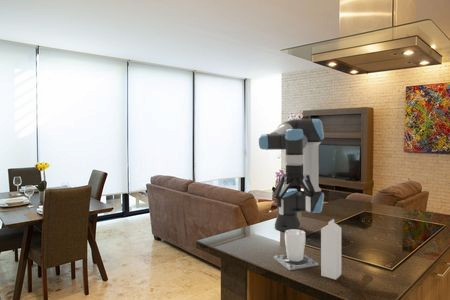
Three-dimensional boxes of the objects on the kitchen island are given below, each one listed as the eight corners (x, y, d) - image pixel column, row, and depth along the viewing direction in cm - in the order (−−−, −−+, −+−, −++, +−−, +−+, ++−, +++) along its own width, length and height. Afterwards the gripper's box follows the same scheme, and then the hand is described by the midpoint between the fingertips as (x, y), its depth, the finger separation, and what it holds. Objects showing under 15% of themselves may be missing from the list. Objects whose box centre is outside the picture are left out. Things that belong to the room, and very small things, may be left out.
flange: (300, 254, 151) (300, 250, 151) (318, 265, 137) (318, 261, 137) (273, 258, 146) (273, 255, 146) (289, 270, 133) (289, 266, 133)
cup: (290, 264, 136) (290, 236, 136) (281, 256, 145) (281, 230, 144) (309, 261, 139) (309, 234, 138) (299, 254, 147) (299, 228, 147)
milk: (341, 274, 128) (342, 220, 127) (335, 280, 123) (336, 223, 122) (326, 270, 132) (327, 217, 131) (320, 275, 127) (320, 220, 126)
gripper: (313, 162, 148) (313, 208, 149) (264, 165, 140) (265, 213, 141) (323, 163, 141) (324, 211, 142) (272, 166, 132) (273, 217, 134)
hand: (294, 212), depth 141 cm, fingers open, 13 cm apart
